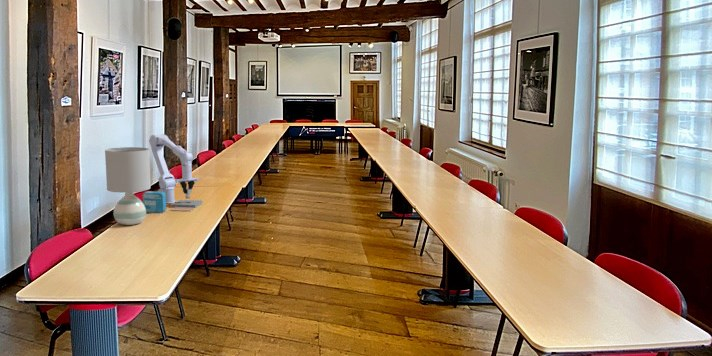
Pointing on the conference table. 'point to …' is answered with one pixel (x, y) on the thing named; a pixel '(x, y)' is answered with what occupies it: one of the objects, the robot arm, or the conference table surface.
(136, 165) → the lamp
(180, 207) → the tile
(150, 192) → the blue box
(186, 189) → the t key
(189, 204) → the cover plate
